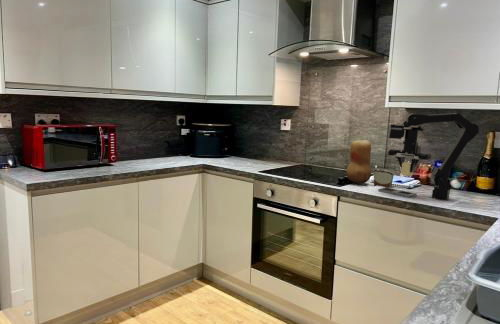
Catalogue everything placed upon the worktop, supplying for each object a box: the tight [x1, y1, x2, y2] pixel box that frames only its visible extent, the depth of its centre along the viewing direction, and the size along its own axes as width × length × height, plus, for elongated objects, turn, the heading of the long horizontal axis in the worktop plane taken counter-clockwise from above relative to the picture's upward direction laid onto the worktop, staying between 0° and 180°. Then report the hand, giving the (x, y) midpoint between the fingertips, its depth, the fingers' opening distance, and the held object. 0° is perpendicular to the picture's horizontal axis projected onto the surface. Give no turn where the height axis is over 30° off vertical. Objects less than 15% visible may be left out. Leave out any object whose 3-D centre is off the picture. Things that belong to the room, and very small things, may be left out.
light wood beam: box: [400, 161, 414, 177], centre depth 181 cm, size 4×4×6 cm
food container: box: [372, 167, 396, 188], centre depth 204 cm, size 12×6×10 cm, turn 41°
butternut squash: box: [345, 139, 372, 185], centre depth 210 cm, size 14×13×25 cm
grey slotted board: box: [377, 187, 418, 199], centre depth 185 cm, size 16×8×2 cm, turn 44°
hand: (407, 171), depth 181 cm, fingers closed on light wood beam, 4 cm apart
